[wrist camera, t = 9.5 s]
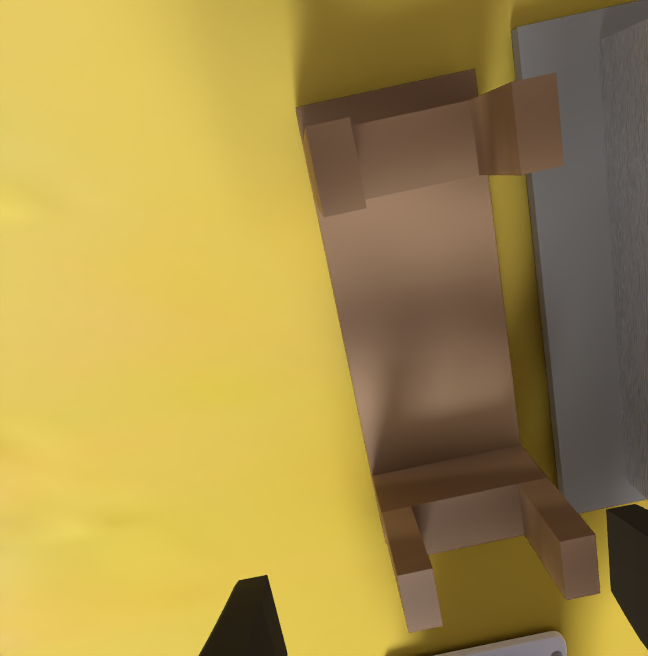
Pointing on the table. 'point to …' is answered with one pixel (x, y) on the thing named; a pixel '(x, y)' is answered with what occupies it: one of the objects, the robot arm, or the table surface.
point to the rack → (438, 318)
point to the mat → (578, 258)
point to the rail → (629, 229)
